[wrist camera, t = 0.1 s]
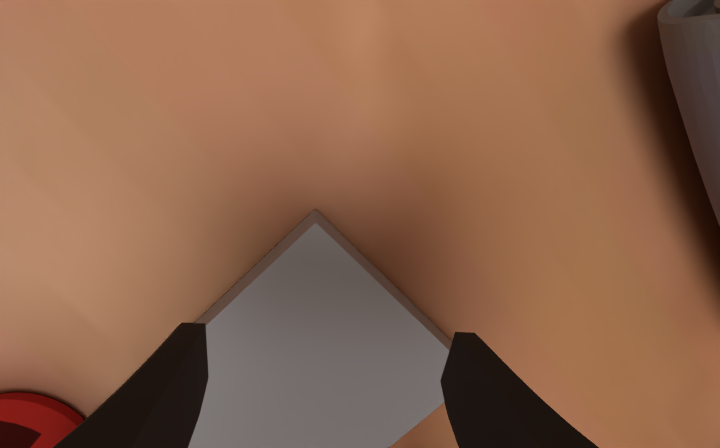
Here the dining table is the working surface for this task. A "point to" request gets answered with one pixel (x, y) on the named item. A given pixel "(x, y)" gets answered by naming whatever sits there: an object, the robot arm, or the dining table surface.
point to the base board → (317, 352)
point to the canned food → (34, 421)
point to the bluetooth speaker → (696, 80)
